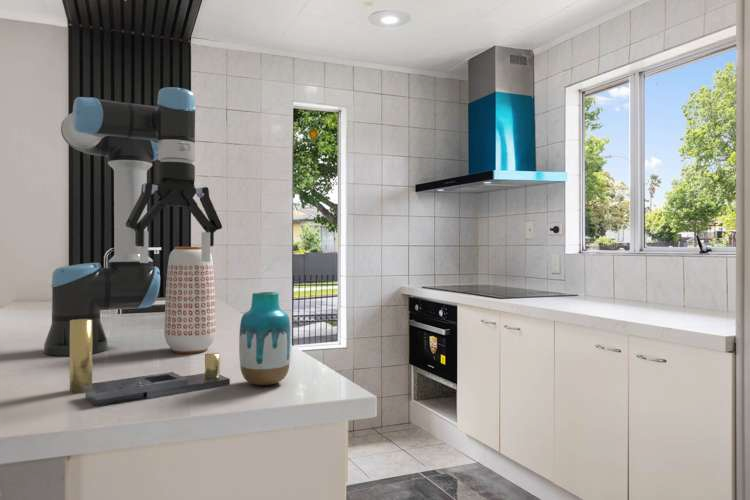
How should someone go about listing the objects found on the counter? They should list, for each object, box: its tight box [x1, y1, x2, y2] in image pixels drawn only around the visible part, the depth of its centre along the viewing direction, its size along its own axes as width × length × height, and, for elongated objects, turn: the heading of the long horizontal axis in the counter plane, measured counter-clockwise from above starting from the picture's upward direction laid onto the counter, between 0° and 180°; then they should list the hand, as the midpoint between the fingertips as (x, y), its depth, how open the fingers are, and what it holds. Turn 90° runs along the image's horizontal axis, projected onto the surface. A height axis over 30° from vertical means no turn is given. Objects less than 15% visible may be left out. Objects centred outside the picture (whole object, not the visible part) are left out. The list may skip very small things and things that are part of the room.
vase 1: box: [163, 246, 217, 354], centre depth 157 cm, size 13×13×28 cm
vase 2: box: [238, 291, 292, 386], centre depth 121 cm, size 11×11×19 cm
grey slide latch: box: [84, 352, 231, 407], centre depth 115 cm, size 8×26×6 cm, turn 131°
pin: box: [69, 319, 93, 394], centre depth 115 cm, size 4×4×14 cm
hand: (175, 262), depth 124 cm, fingers open, 13 cm apart
